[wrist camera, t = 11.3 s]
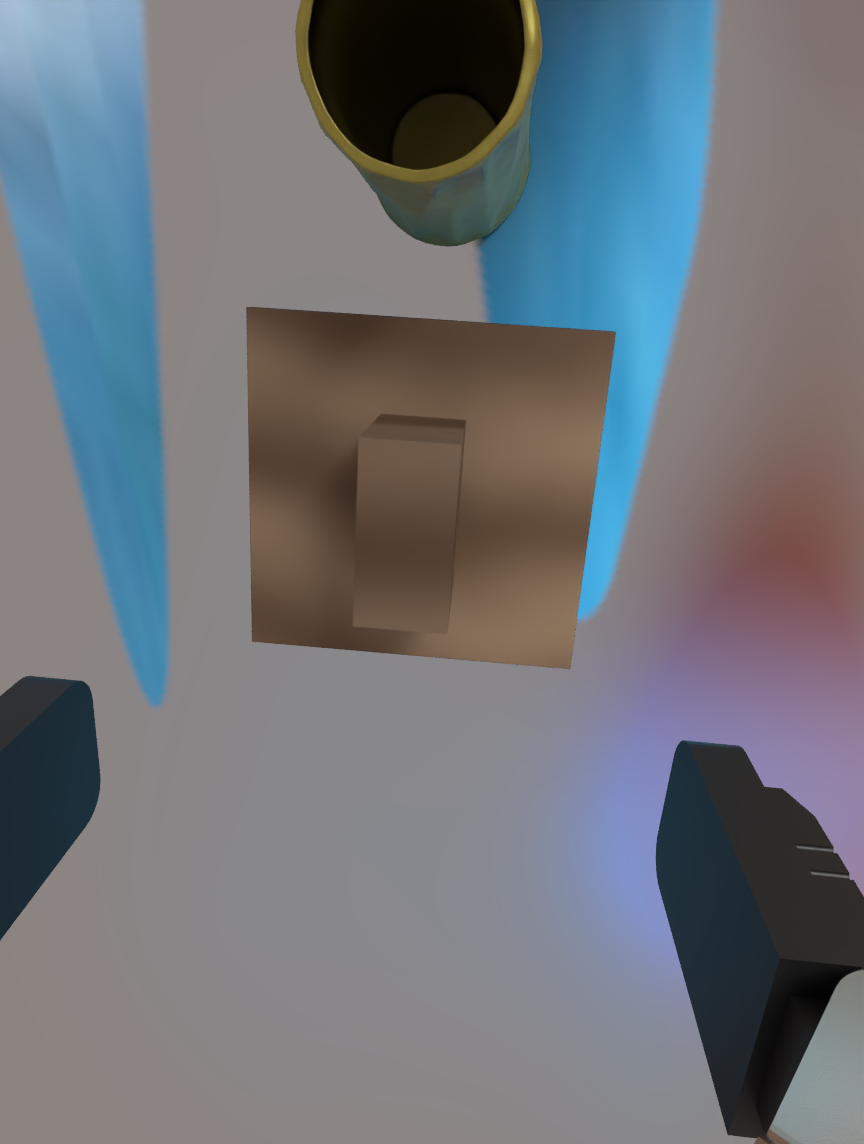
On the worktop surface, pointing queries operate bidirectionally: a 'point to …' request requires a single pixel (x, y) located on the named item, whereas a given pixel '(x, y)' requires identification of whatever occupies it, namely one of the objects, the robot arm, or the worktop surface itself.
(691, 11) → the worktop surface
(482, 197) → the vase
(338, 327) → the lid
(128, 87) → the worktop surface
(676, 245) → the worktop surface
